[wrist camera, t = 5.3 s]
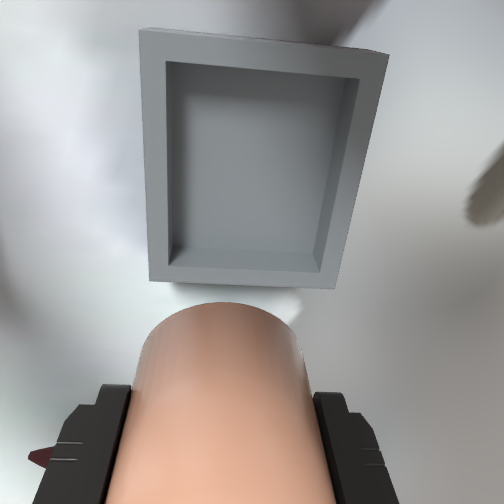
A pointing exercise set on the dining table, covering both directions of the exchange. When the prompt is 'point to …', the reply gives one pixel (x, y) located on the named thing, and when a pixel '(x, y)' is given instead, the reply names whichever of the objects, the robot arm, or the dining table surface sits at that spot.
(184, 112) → the slate tray
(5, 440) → the dining table surface
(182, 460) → the terracotta cup
